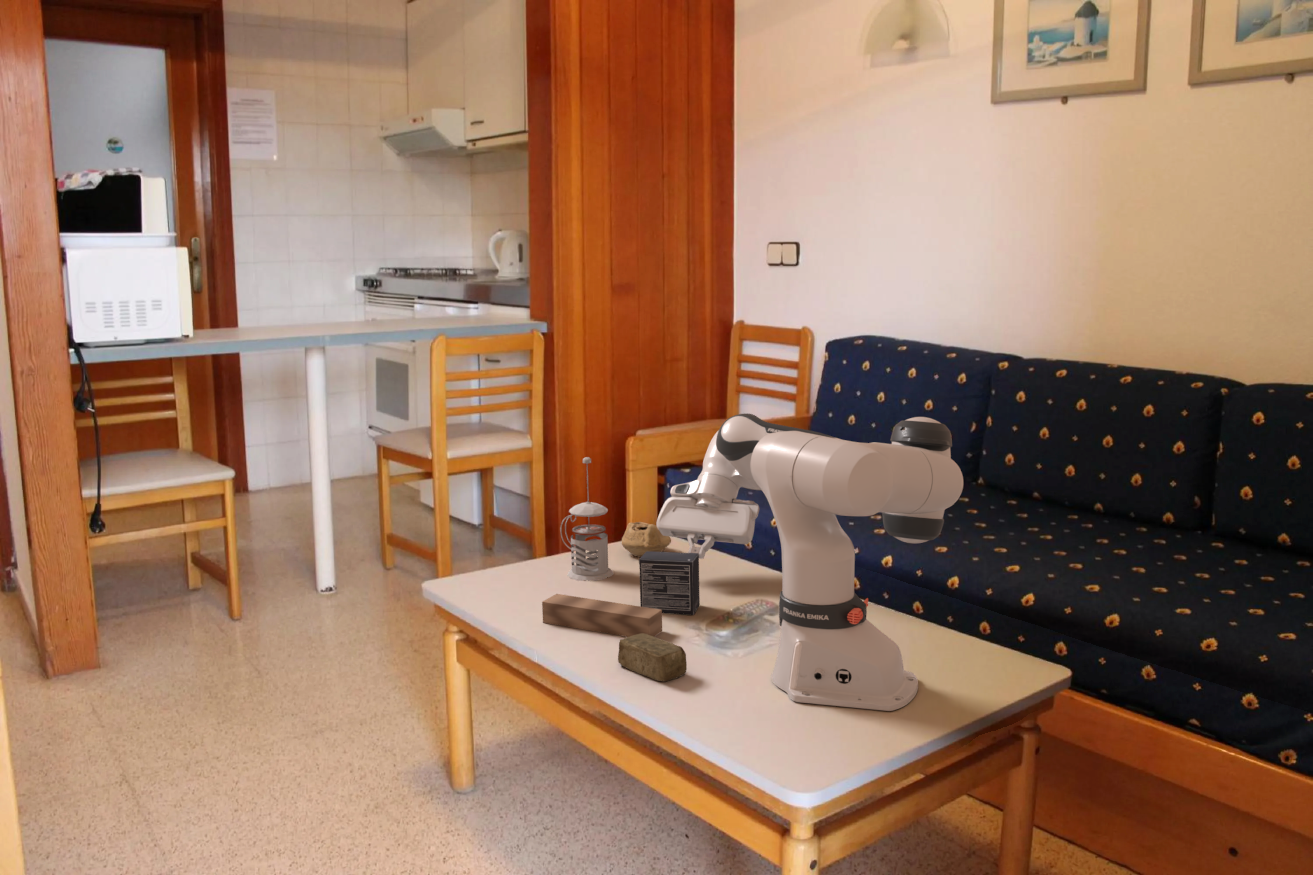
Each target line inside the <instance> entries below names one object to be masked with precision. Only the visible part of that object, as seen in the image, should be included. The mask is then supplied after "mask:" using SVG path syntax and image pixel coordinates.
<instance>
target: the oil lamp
mask: <svg viewBox="0 0 1313 875" xmlns="http://www.w3.org/2000/svg"><path fill="white" fill-rule="evenodd" d="M671 543H672V538H671V536H663V535H662V534H661V533H660V531H659V530H658V528H657V525H655V524H653V523H651V524H650V523H647V522H642V521H638V522H637V521H636V522H629V523H628V524H627V525H626V529H625V531H624V534H623V536H622V537H621V545H622V547H623V548H624V549H625V550H626V551H627V552H629V553H630V554H631V555H633V556H635V557H640V558H641V557H642V556H643V554H644V553H645V552H647V551H652V552H663V550H665V549H666V548H667V547H668V546H669V545H670V544H671Z"/></svg>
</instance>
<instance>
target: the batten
mask: <svg viewBox="0 0 1313 875" xmlns="http://www.w3.org/2000/svg"><path fill="white" fill-rule="evenodd" d="M541 603H542V604H541V605H542V606H541V607H542V609H541V610H542V623H543V624H549V625H555V626H561V627H568V628H573V629H578V630H585V631H592V632H597V633H604V634H608V635H609V634H610V635H616V636H622V637H625V638H627V637H630V636H633V635H637V634H641V633H644V634H648V635H650V636H654V637H656V636H658V635H659V634H661V633H662V632H663V613H662V610H660V609H654V608H647V607H641V605H640V606H639V605H635V604H634V605H633V604H626V603H622V602H621V603H619V602H613V601H606V600H600V599H593V598H588V597H587V598H586V597H580V596H573V595H567V594H561V593H560V594H559V593H556V594H554V595H552V596H550V597H548V598H546V599H545V600H542V602H541Z"/></svg>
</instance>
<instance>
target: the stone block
mask: <svg viewBox="0 0 1313 875" xmlns="http://www.w3.org/2000/svg"><path fill="white" fill-rule="evenodd" d="M618 643H619V644H618V655H617V662H618V664H620V666H623V667H624V668H626V669H628V670H629V671H632V672H635V673H637V674H639V675H642V676H644V677H647V678H650V679H652V680H654V681H657V682H668V681H672V680H675V679H679V678H680V677H681V676H683V675H686V673H687V669H688V668H687V653H686V652H685V650H684V648H683V647H682V646H679V645H677V644H674V643H673V642H669V641H667V640H665V639H660V638H658V637H656V636H655V637H654V636H650V635H648V634H644V633H641V634H637V635H633V636H630V637H625V638H623V639H619V642H618Z"/></svg>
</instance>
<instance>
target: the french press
mask: <svg viewBox="0 0 1313 875" xmlns="http://www.w3.org/2000/svg"><path fill="white" fill-rule="evenodd" d="M582 464H586V485H587V487H586V489H587V501H585V502H581V503H578V504H575V505H573V506H572V507H570V509H569V510H568V513H570V515H569V514H568V515H567V516H565V517H564V518H563V519H562V521H561V523H560V527H559V531H560V537H561V540H562V543H563V544H564V545H565V546H566V547H567V548H568V549H569V550H571V551H570V553H571V568H570V569H569V571H568V572H567V573H568V574H567V577H568V576H569V577H568V578H570V579H572V580H576V581H583V580H588V581H587V582H589V581H590V580H593V581H601V580H605V579H607V577H608V578H610V577H612V576H613V575H614V570H612V569H611V568H610V567H609V547H608V546H609V542H608V541H609V540H608V534H607V533H606V530H607V528H606V526H604V525H602V524H601V525H600V524H590V518H594V517H600V516H603V515H606V514H607V513H608V511H609V509H608V508H607V507H606V506H604V505H602V504H599V503H597V502H592V501H591V502H590V496H589V471H588V470H589V468H588V467H589V464H592V458H590V457H589V456H586V457H584V458H582ZM572 516H574V519H573V517H572ZM577 517H583V518H587V517H588V518H587V521H588V524H580V525H576V526H574V527H573V528H572V529H571V532H572V533H574V534H572V535H570V539H569V538H568V537H569V536H568V534H567V533H568V532H567V523H568V520H569V519H570V522H571V523H574V522H575V521H576V520H577ZM565 520H566V521H565ZM564 521H565V523H564ZM563 524H564V533H565V536H566V539H567V542H568V543H569V544H570V546H569V545H568V544H567V543H566V542H565V541H564V537H563V532H562V527H563ZM591 537H598V538H600V539H597V538H593V539H588V538H591ZM586 539H588V540H586ZM590 582H591V581H590Z"/></svg>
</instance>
